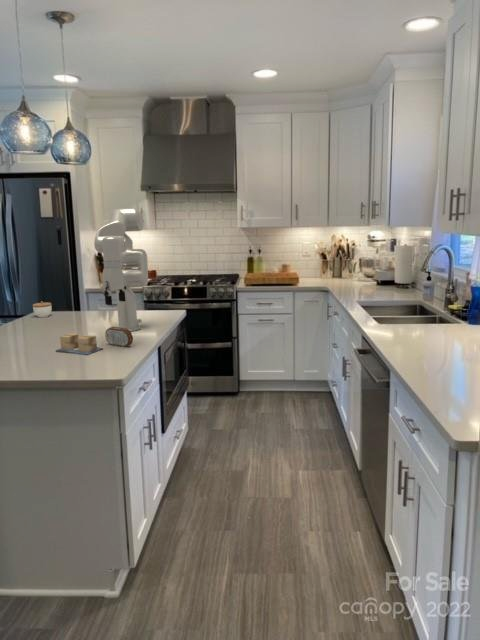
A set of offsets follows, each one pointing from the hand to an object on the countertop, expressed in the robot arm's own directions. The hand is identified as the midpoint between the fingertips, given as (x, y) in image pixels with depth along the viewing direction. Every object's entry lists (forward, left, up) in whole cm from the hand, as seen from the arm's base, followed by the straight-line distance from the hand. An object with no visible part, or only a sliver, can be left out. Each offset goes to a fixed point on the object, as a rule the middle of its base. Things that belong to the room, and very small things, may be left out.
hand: (115, 302), depth 224 cm
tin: (0, 0, -20) cm, 20 cm away
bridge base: (+13, -12, -20) cm, 27 cm away
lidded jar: (-43, -89, -20) cm, 101 cm away
